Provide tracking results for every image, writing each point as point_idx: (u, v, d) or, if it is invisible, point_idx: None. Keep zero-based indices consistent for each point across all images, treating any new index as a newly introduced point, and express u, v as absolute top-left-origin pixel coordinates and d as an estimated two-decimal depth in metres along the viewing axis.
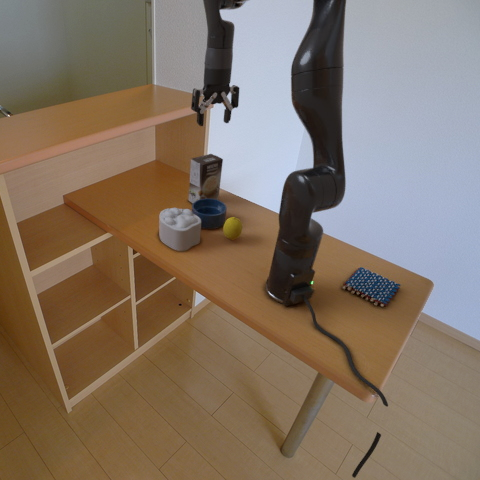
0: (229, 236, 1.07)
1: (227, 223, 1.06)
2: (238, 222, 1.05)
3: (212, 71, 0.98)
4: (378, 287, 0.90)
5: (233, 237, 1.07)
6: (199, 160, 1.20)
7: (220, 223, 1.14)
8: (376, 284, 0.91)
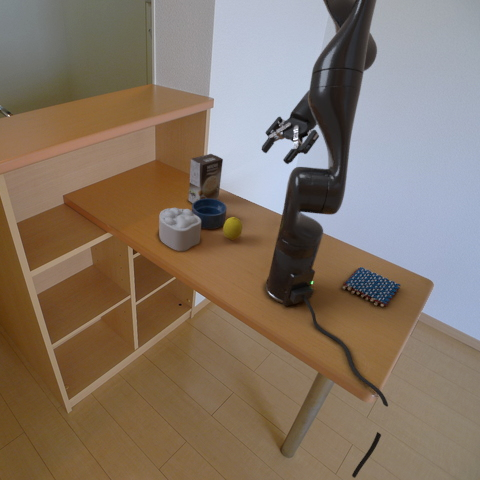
0: (229, 236, 1.07)
1: (227, 223, 1.06)
2: (238, 222, 1.05)
3: None
4: (378, 287, 0.89)
5: (233, 237, 1.07)
6: (199, 160, 1.20)
7: (220, 223, 1.14)
8: (376, 284, 0.90)
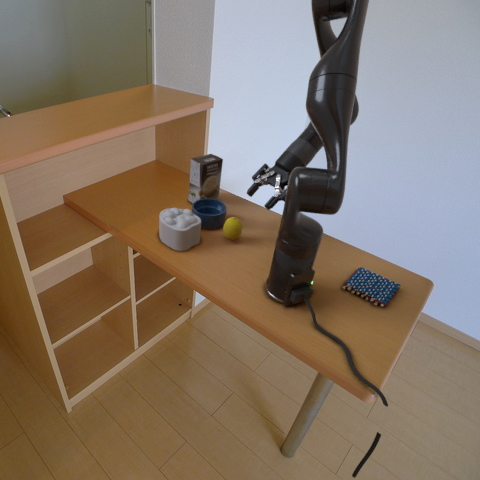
0: (229, 236, 1.07)
1: (227, 223, 1.06)
2: (238, 222, 1.05)
3: (283, 152, 1.04)
4: (378, 287, 0.89)
5: (233, 237, 1.07)
6: (199, 160, 1.20)
7: (220, 223, 1.14)
8: (376, 284, 0.90)
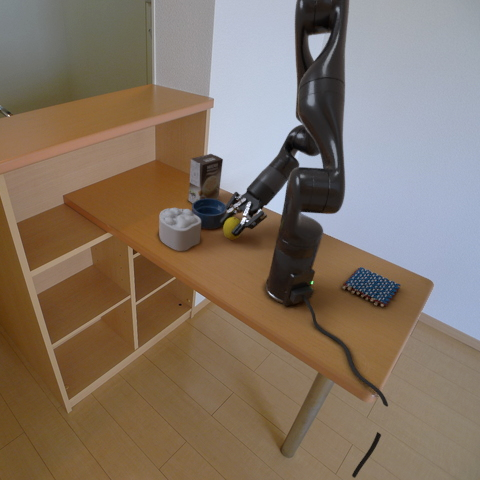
0: (229, 236, 1.07)
1: (227, 223, 1.06)
2: (238, 222, 1.05)
3: (254, 180, 1.05)
4: (378, 287, 0.90)
5: (233, 237, 1.07)
6: (199, 160, 1.20)
7: (220, 223, 1.14)
8: (376, 284, 0.91)
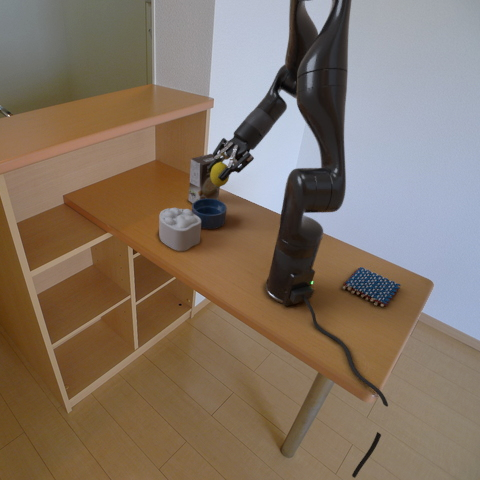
0: (216, 182, 1.05)
1: (214, 168, 1.04)
2: (225, 167, 1.03)
3: None
4: (378, 287, 0.90)
5: (220, 183, 1.05)
6: (199, 160, 1.20)
7: (220, 223, 1.14)
8: (376, 284, 0.91)
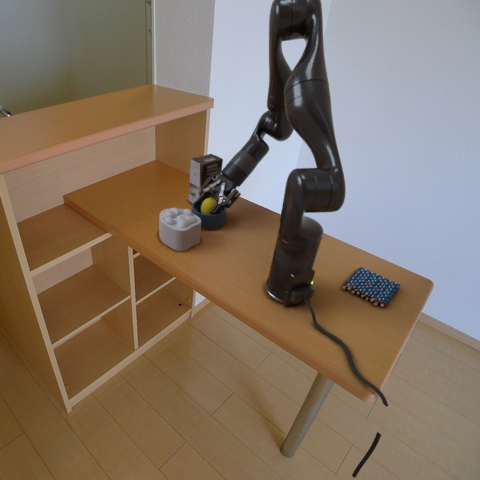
0: None
1: (204, 203, 1.14)
2: (214, 202, 1.14)
3: None
4: (378, 287, 0.90)
5: None
6: (199, 160, 1.20)
7: (220, 223, 1.14)
8: (376, 284, 0.90)
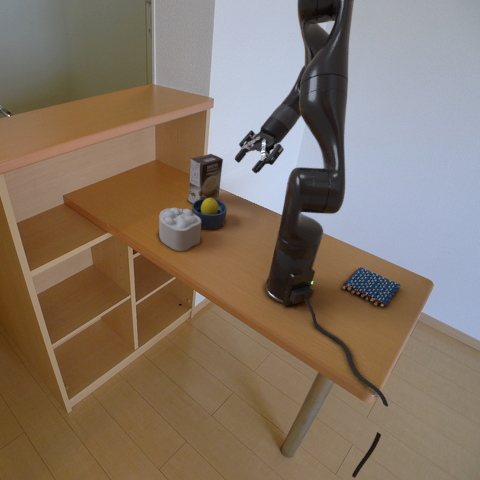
0: None
1: (204, 203, 1.14)
2: (214, 202, 1.14)
3: None
4: (378, 287, 0.90)
5: None
6: (199, 160, 1.20)
7: (220, 223, 1.14)
8: (376, 284, 0.91)
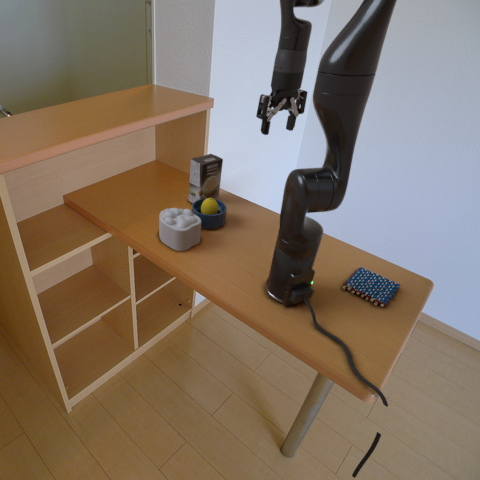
0: None
1: (204, 203, 1.14)
2: (214, 202, 1.14)
3: (285, 75, 0.89)
4: (378, 287, 0.90)
5: None
6: (199, 160, 1.20)
7: (220, 223, 1.14)
8: (376, 284, 0.90)
